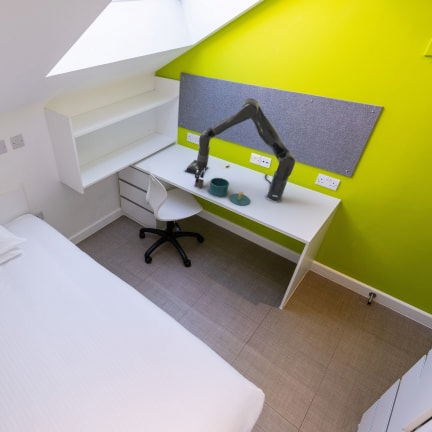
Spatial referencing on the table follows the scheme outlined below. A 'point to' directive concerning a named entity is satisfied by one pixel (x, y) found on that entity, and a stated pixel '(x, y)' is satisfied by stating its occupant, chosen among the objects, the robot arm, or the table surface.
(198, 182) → the block
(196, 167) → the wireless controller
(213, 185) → the tin
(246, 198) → the lid
